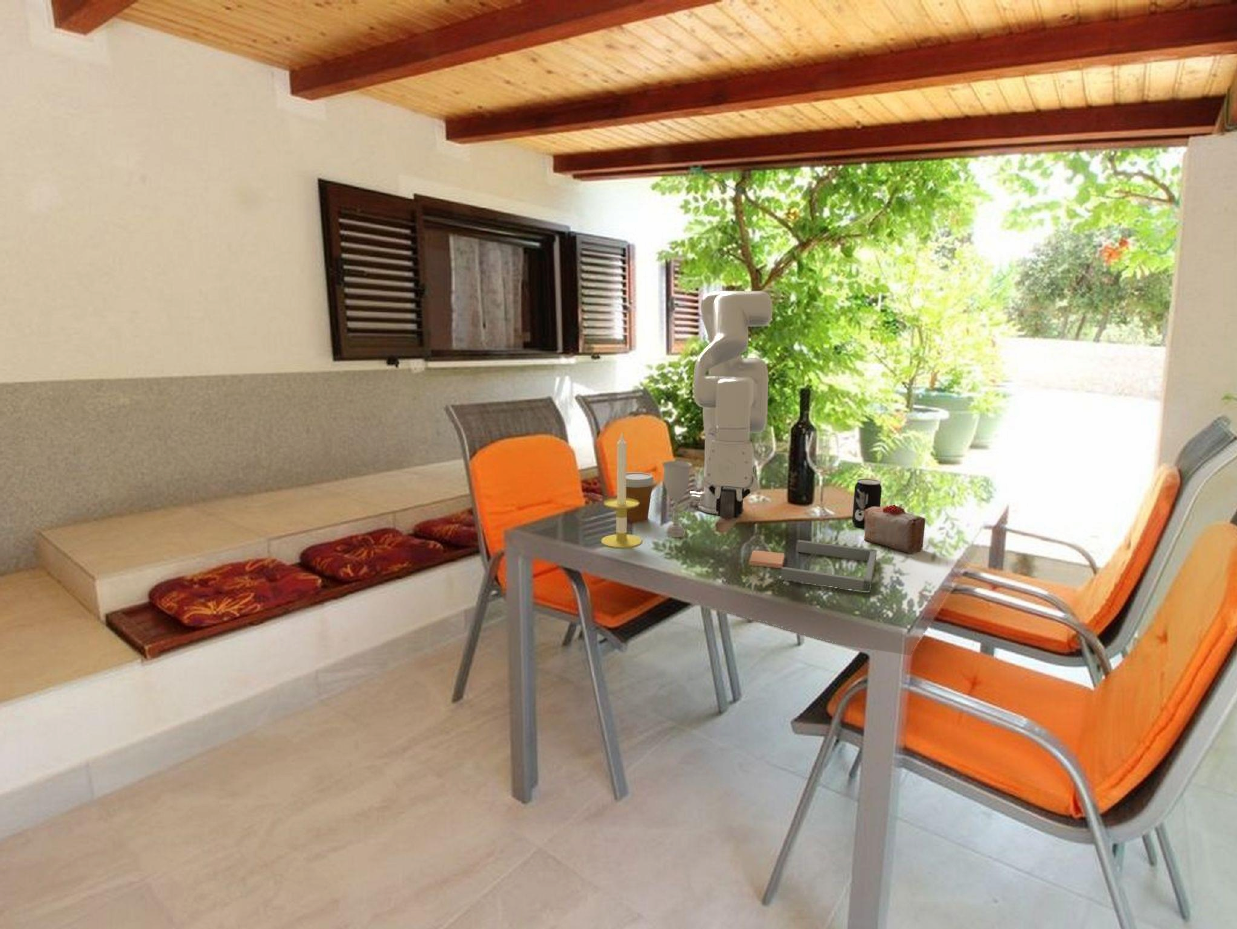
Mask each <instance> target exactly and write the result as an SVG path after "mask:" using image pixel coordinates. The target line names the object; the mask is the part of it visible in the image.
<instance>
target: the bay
mask: <svg viewBox="0 0 1237 929" xmlns="http://www.w3.org/2000/svg"><path fill="white" fill-rule="evenodd" d="M877 551H878V550H877V549H873V548H865V547H858V546H849V545H842V544H835V543H834V544H831V543H826V542H818V541H809V540H801V539H798V540H797V541H796V552H798V553H804V554H812V555H819V556H825V557H826V556H827V557H834V558H842V559H849V560H855V561H863V562H867V565H866V569H865V574H864V578H863V577H862V578H861V577H855V576H849V575H841V574H834V573H827V572H821V571H813V570H807V569H799V568H792V567H787V566H782V568H781V571H780V572H781V573H780V574H781V576H780V580H781V581H783V580H786V581H785V582H790V581H793V582H792V583H796V582H803V583H811V584H816V585H826V586H833V587H837V588H843V589H852V590H859V591H871V588H870V586H872V581H873V577H874V572H875V566H876V561H877ZM803 583H802V584H803ZM816 585H815V586H816Z"/></svg>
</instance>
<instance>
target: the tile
mask: <svg viewBox="0 0 1237 929" xmlns="http://www.w3.org/2000/svg"><path fill="white" fill-rule="evenodd" d="M784 560H785V553H784V552H783V553H782V552H773V551H764V550H756V549H755V550H754V549H753V550H752V552H751V555H750V558H749V562H748V565H750V566H756V567H757V566H758V567H766V568H767V567H768V568H776V569H782V567H783V564H784Z"/></svg>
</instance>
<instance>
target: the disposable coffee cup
mask: <svg viewBox="0 0 1237 929" xmlns="http://www.w3.org/2000/svg"><path fill="white" fill-rule="evenodd" d="M654 483H655V480H654V477H653V474H651V473H647V472H640V471H639V472H638V471H637V472H634V471H633V472H626V498H630V499H634V500H637V501H638V502H639V505H638V506H636V507H634V508H629V509H627V522H631V523H643V522H644V523H645V522H647V520H648V519H649V512H650V506H651V498H652V491H653V485H654Z"/></svg>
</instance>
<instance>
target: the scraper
mask: <svg viewBox="0 0 1237 929" xmlns="http://www.w3.org/2000/svg"><path fill="white" fill-rule="evenodd" d="M736 497H737V493H736V488H727V487H726V488H724V489H723V490H722V491H721V507H720V516H719V517H720V518H719V519H718V520H717V521H715V532H718V533H728V532H729V531H730V530H731V529H732V528H733V527H734V526H735V525H737V524H736V523H738V522H739V520H741V518H742V514H740V516H739V517H738V518H734V505H735V501H736Z"/></svg>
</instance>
